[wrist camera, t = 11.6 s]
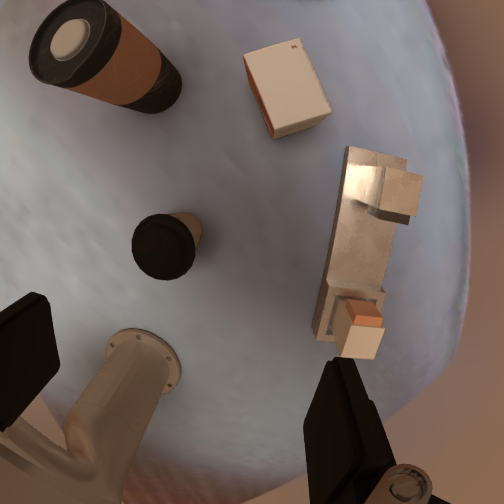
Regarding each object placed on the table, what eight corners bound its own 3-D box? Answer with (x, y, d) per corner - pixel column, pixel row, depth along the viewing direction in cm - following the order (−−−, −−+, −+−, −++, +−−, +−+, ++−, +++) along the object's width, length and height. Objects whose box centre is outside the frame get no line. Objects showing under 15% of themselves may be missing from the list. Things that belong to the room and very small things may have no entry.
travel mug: (157, 51, 32) (76, -19, 12) (196, 82, 33) (128, 14, 14) (118, 94, 33) (14, 58, 14) (154, 127, 35) (55, 103, 15)
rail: (361, 331, 41) (382, 373, 31) (311, 326, 41) (321, 370, 31) (400, 159, 34) (439, 160, 24) (345, 147, 34) (372, 141, 25)
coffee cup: (222, 234, 38) (207, 257, 28) (183, 267, 39) (158, 298, 30) (186, 191, 37) (158, 200, 27) (148, 226, 38) (113, 247, 29)
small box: (248, 82, 33) (240, 52, 23) (291, 68, 32) (299, 35, 22) (271, 141, 35) (272, 131, 24) (315, 127, 34) (333, 112, 24)
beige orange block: (356, 325, 38) (373, 359, 31) (328, 321, 38) (340, 357, 31) (367, 291, 37) (388, 320, 29) (338, 286, 37) (353, 316, 29)
